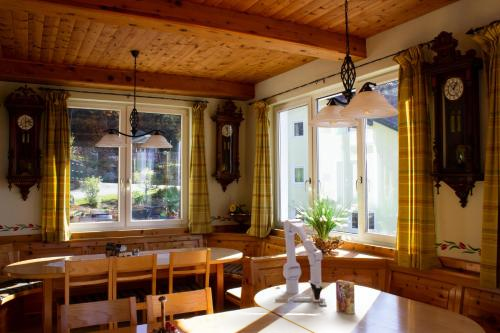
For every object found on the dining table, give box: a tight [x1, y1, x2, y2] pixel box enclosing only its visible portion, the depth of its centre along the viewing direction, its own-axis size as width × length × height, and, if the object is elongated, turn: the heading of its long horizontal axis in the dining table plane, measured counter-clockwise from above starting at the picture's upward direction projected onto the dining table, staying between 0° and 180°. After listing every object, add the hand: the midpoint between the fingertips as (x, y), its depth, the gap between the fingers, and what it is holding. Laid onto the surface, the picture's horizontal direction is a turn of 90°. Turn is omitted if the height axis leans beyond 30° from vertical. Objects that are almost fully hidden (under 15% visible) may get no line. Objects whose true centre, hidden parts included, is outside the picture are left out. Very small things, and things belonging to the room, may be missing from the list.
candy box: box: [335, 279, 356, 315], centre depth 218 cm, size 9×4×15 cm, turn 39°
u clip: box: [310, 289, 320, 301], centre depth 233 cm, size 5×4×4 cm
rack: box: [294, 296, 327, 308], centre depth 233 cm, size 12×18×3 cm, turn 84°
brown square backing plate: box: [274, 298, 289, 304], centre depth 235 cm, size 8×7×1 cm
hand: (316, 297), depth 233 cm, fingers closed on u clip, 5 cm apart
